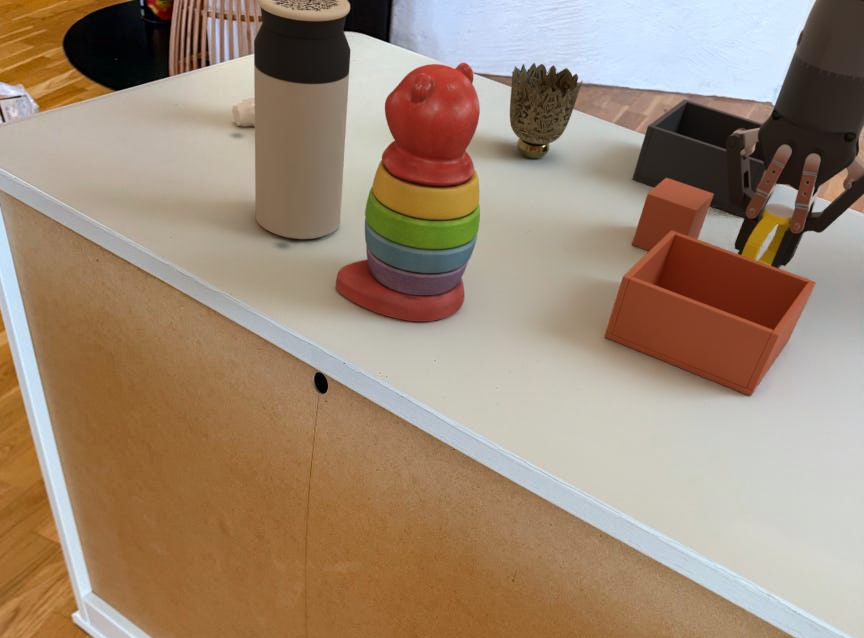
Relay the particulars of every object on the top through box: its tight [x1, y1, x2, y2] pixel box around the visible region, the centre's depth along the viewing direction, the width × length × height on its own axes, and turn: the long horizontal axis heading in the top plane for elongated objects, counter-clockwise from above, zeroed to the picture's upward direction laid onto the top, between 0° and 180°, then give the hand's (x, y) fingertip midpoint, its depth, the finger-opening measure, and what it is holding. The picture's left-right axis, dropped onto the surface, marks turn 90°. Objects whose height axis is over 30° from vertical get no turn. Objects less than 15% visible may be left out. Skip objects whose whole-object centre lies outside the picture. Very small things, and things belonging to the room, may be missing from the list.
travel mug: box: [253, 0, 351, 240], centre depth 80 cm, size 8×8×18 cm
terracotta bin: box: [604, 230, 817, 397], centre depth 78 cm, size 13×11×6 cm
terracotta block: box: [631, 178, 714, 252], centre depth 90 cm, size 5×5×5 cm
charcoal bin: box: [632, 99, 766, 218], centre depth 101 cm, size 13×11×6 cm
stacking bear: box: [335, 62, 481, 322], centre depth 74 cm, size 11×10×18 cm
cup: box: [509, 62, 584, 159], centre depth 100 cm, size 8×7×8 cm
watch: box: [742, 202, 794, 266], centre depth 86 cm, size 6×3×6 cm, turn 133°
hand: (759, 259), depth 88 cm, fingers closed on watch, 2 cm apart
